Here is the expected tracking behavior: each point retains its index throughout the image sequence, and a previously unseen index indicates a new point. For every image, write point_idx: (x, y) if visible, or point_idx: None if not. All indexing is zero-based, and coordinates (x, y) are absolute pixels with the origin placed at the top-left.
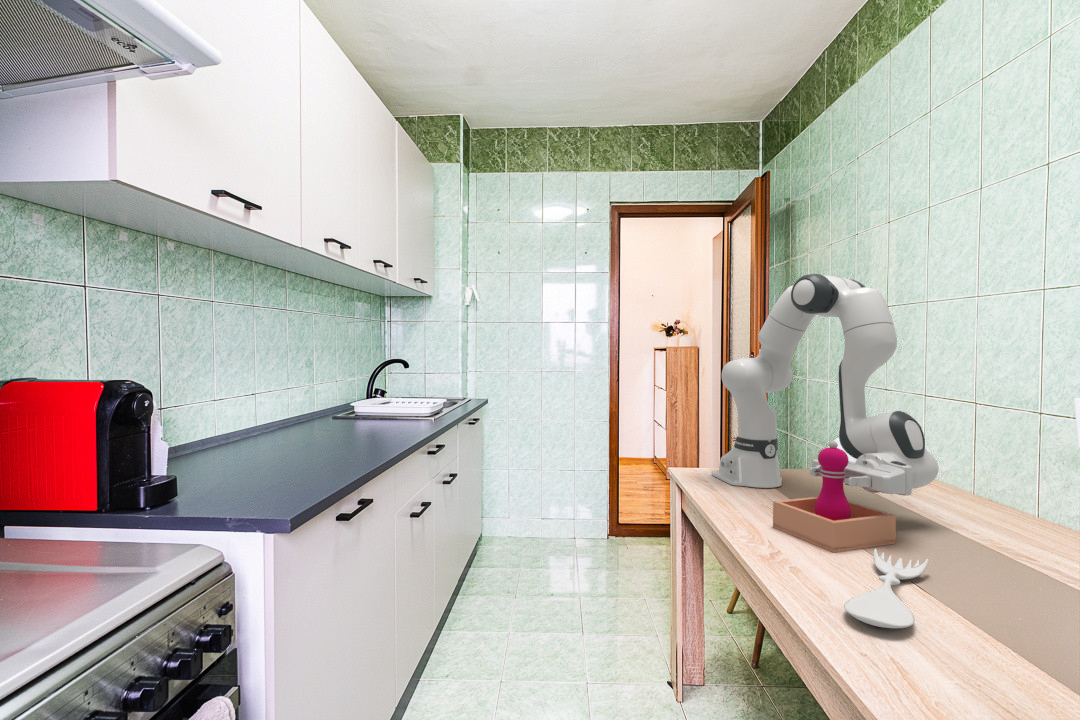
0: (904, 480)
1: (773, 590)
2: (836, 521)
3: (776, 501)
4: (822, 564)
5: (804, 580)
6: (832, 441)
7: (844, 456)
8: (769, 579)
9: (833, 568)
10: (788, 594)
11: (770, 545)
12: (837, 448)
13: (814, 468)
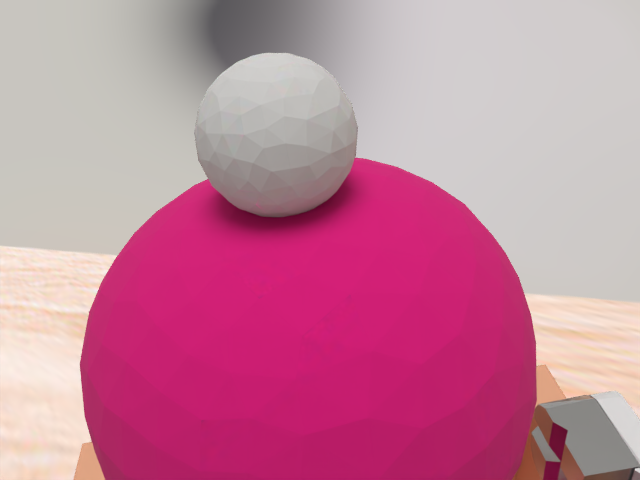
0: None
1: (37, 249)
2: (93, 471)
3: (545, 379)
4: (70, 417)
5: (27, 317)
6: (250, 61)
7: (84, 338)
8: (82, 261)
9: (25, 430)
10: (4, 263)
11: None
12: (220, 224)
13: (577, 407)
